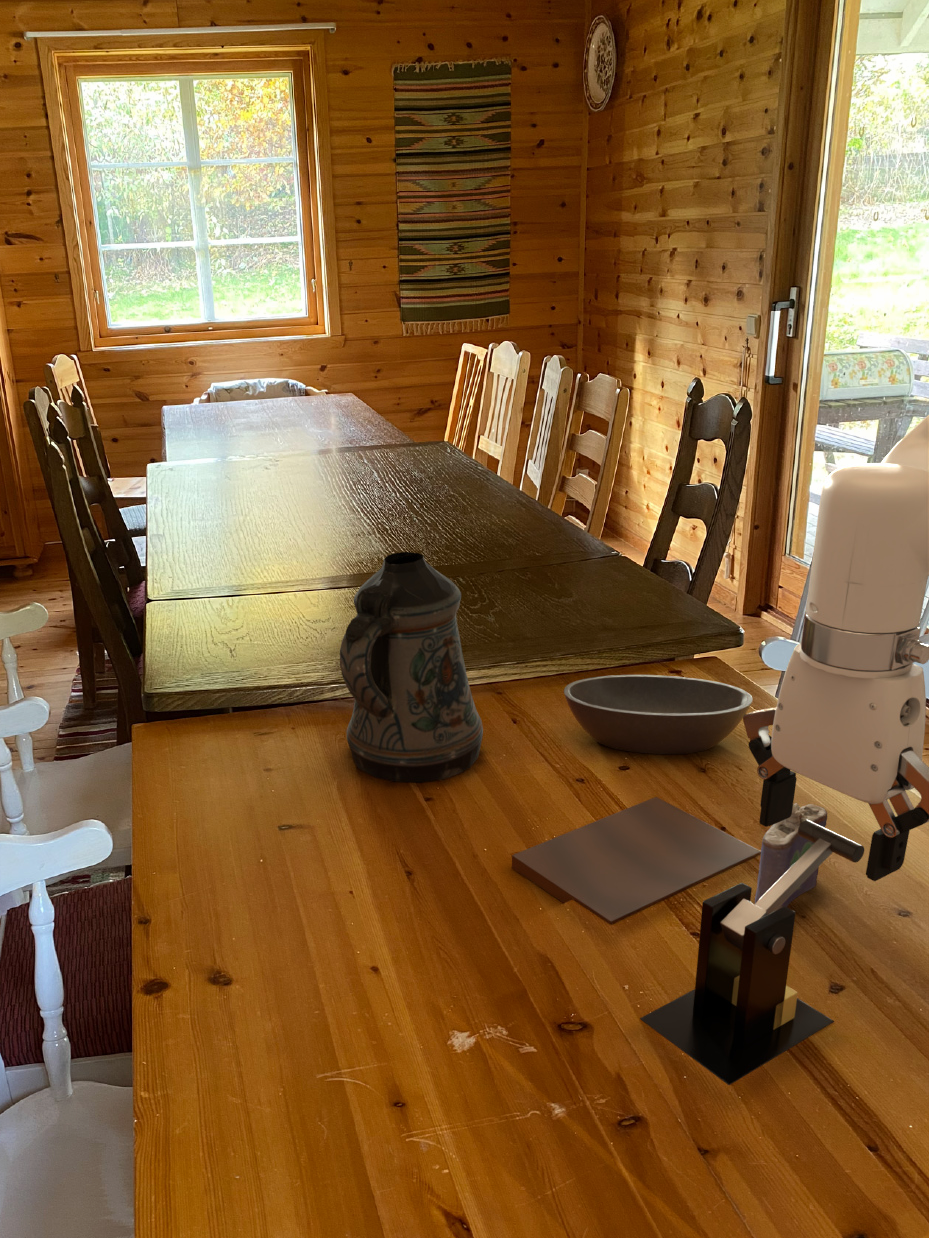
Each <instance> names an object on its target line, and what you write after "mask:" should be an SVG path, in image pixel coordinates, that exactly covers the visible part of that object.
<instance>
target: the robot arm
mask: <svg viewBox="0 0 929 1238" xmlns="http://www.w3.org/2000/svg"><path fill="white" fill-rule="evenodd" d="M813 544H814V545H813V550H812V551H813V552H812V561H811V565H810V566H811V568H810V574H809V581H808V590H807V597H806V598H807V599H806V605H805V612H804V619H803V627H802V633H801V642H800V643H799V644H797V645H796V646H795V647H794V648H793V651H792V654H791V655H790V658H789V661H788V663H787V666H786V669H785V672H784V675H783V679H782V681H781V684H780V689H779V693H778V698H777V703H776V707H775V706H774V707H769V708H764V709H757V710H753V711H751V712H747V713H746V714H745V715H744V716H743V719H742V722H743V724H744V728H745V732H746V735H747V738H748V739H749V742H748V748H749V751H750V753H751V754H752V756H753V758H754V759H755V762H756V763H757V765H758V766H757V768H756V772H757V776H758V777H759V778H761V779H762V789H761V790H762V791H761V796H760V803H759V804H760V806H759V807H760V814H759V825H762V826H763V827H765V828H767V827H771V826H772V825H774V824H776V823H778V822H780V821H783V820H785V819H787V818H789V817H790V816H791V815H792V809H793V804H794V802H795V794H796V793H795V792H796V787H797V786H796V785H797V774H799V775H800V776H803V777H805V778H808V779H809V780H812V781H814V782H816V783H818V784H820V785H822V786H825V787H827V788H830V789H832V790H834V791H837V792H839V793H841V794H843V795H846V796H848V797H851V798H853V799H855V800H857V801H860V802H862V803H866V804H868V805H869V808H870V810H871V812H872V814H873V816H874V818H875V820H876V822H877V824H878V826H879V828H880V829H877V830H875V831H873V832H872V835H871V840H870V847H869V851H868V852H869V853H868V858H867V863H866V870H865V875H866V878H867V879H868V880H870V881H873V882H877V881H879V880H880V879H883V878H884V877H886V876H889V875H890V874H892V873H894V872H897V871H898V870H900V869H901V868H902V866H903V864H904V862H905V857H906V851H907V846H908V841H909V835H910V831H911V830H914V829H916V828H919V827H921V826H922V825H925V824H927V823H929V766H928V765H927V764H926V763H925V762H924V761H923V753H924V746H925V745H924V744H925V733H926V716H927V715H926V714H927V695H926V694H927V693H926V682H925V673H924V668H923V667H922V666H920V665H925V664H927V663H928V661H929V644H925V643H923V642H922V641H921V640H920V635H921V630H922V628H921V627H920V623H921V617H922V613H923V607H924V603H925V602H924V601H925V597H926V596H925V595H926V591H927V584H928V578H929V414H928V415H927V416H925V417H924V418H923V419H922V420H921V421H920V422H919V423H918V424H917V425H915V426H914V427H913V428H912V429H911V430H910V431H908V433H907V434H905V435H904V436H903V437H902V438H901V439H900V440H899V441H898V442H897V443H896V444H895V445H894V446H893V447H892V448H891V450H890V451H889V452H888V454H887V455H886V456H884V458H883V459H882V460H881V462H878V463H877V462H873V463H872V462H871V463H870V462H869V463H856V464H849V465H845V466H842V467H839V468H837V469H835V470H833V471H832V472H831V473H830V474H829V475H828V476H827V477H826V479H825V481H824V482H823V485H822V488H821V493H820V498H819V505H818V514H817V521H816V528H815V536H814V543H813ZM915 663H917V664H915ZM918 664H920V665H918ZM769 726H772V729H771V735H770V729H769ZM913 789H915V790H916V791H917V792H918V794H920V801H919V802H918V803H917V805H916V806H915V807H914V805H913V803H912V801H911V799H910V797H909V795H908V793H907V791H911V790H913ZM888 800H889V801H888ZM889 802H890V803H889ZM890 804H891V805H890ZM891 806H892V807H891ZM892 808H893V809H892ZM893 810H894V811H895V813H894V811H893Z"/></svg>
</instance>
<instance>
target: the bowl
mask: <svg viewBox="0 0 929 1238" xmlns="http://www.w3.org/2000/svg"><path fill="white" fill-rule="evenodd" d="M563 694H564V697H565V700H566V702H567V705H568V708H569V709H570V711H571V713H572V715H573V716H574V718H575V721H577V722H578V723H579V726H581V728H582V729H583V730H584V731H585V732H586V733H587V734H588V735H589V736H590V737H591V738H592V739H593V740H594V741H596V742H597V743H598V744H600V745H602V746H605V747H608V748H611V749H616V750H619V751H626V752H631V753H640V754H651V755H652V754H653V755H683V754H685V755H686V754H695V753H700V752H704V751H708V750H710V749H711V748H713V747H715V746H716V745H717V744H719V743H721V742H722V741H723V740H725V739H726V738H727V737H728V736H729V735H730V734H731V733H732V732H733V731H734V730H735V729H736V728H737V727H738V725H739V724H740V723H741V722H742V721H743V716H744V715H745V714H748V711H749V709H750V707H751V705H752V703H753V697H752V695H751V694H750V693H749V692H747V691H746V690H744V689H742V688H740V687H738V686H735V685H732V684H731V685H730V684H728V683H723V682H719V681H714V680H708V679H704V678H703V679H702V678H695V677H685V676H684V677H683V676H676V675H675V676H674V675H673V676H672V675H659V674H657V675H656V674H620V675H602V676H594V677H593V676H592V677H588V678H583V679H579V680H576V681H572V682H571V683H569V684H567V685H566V686H565V687H564V689H563Z"/></svg>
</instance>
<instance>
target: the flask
mask: <svg viewBox="0 0 929 1238" xmlns="http://www.w3.org/2000/svg"><path fill="white" fill-rule="evenodd" d="M804 820H809V821H812V822H814V823H816V824H818V825H820V826H822V827H824V828H826V827H827V822H828V821H827V820H828V811H827V810H826V809H825V807H822V806H819V805H816V804H812V803H810V804H809V803H808V804H806V805H803V806H800V805H799V804H798V802H795V803H793V809H792V815H791V816H790V817H789V818H787V819H785V820H783V821H780V822H778V823H776V824H774V825H771V826H770V827H769V828H768V830H767V831H766V832H765V833H764V835H763V836H762V840H761V847H760V848H761V849H760V851H761V855H760V859H759V866H758V874H757V882H756V883H757V884H756V889H755V895H754V896H755V897H754V904H755V903H756V902H757V901H758V900H759V899H760V898H761V897H762V896H763V895H764V894H765V893H766V892H767V891H768V890H769V889H770V888H771V887H772V886H773V885H774V884H775V883H776V882H777V881H778V880H779V879H780V878H781V877H782V876H783V875H784V874H785V873H786V872H787V871H788V870H789V869H790V867H791V866H792V865H793V864H794V863H795V862H796V861H797V860H798V859H799V858H800V857H801V856H802V855H803V854H804V853H805V852H806V851H807V850H808V849H809V848H810V847H811V846H812V845H813V844H814V843H813V842H811V841H809V840H807V839H805V838H803V837H801V836H799V834H798V828H799V826H800V824H801V823H802V822H803V821H804ZM819 867H820V866H819ZM819 867H818V868H817V869H816V870H815V871H814V872H813V873H812V874H811V875H810V876H809V877H808V878H807V879H806V880H805V881H804V882H803V883H802V884H801V885H800V886H799V887H798V888H797V889H796V891H795V892H794V893H793V894H792V895H791V896H790V897H789V898H788V899H787V900H786V901H785V902H784V903H783V904H782V905H781V906H780V907H779V908H778V909H780V908H782V907H784V906H786V907H787V908H788V906H789V905H790V903H792V902H793V901H794V900H795V899H796V898H798V897H800V896H801V895H802V894H804V893H806V892H809V891H810V890H812V889H814V888H816V886H817V880H818V875H819ZM778 909H777V910H778Z"/></svg>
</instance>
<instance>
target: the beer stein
mask: <svg viewBox="0 0 929 1238" xmlns="http://www.w3.org/2000/svg"><path fill="white" fill-rule="evenodd" d="M425 559H426V558H425V557H424V555H423V554H422V553H419V552H411V551H400V552H394V553H391V554H388V555H386V557H384V559H383V562H382V565H381V567H380V569H378V570H377V571H376V572H375V573H374V574H373V575H371V576H370V577H369V578H368V579H367V580H366V581H365V582H364V583H363V584H362V585H361V586H360V587H359V588H358V590H357V591H356V593H355V595H354V597H353V605H354V607H355V612H356V615H355V617H353V618H352V619H351V621H350V622H349V623H348V625H347V627H346V629H345V633H344V635H343V638H342V640H341V643H340V648H339V667H340V672H341V676H342V679H343V682H344V684H345V686H346V688H347V690H348V692H349V693H350V695H351V696H352V698H353V699H354V702H353V703H354V704H353V710H352V714H351V718H350V720H349V722H348V725H347V728H346V740H347V744H348V747H349V749H350V752H351V758H352V760H353V762H354V763H355V766H356V767H357V769H358V770H360V771H362V772H364V773H367V774H368V775H371V776H372V777H374V778H376V779H381V780H385V781H390V782H394V783H415V784H416V783H418V784H421V783H428V782H435V781H440V780H441V781H442V780H446V779H449V778H451V777H454V776H458V775H460V774H462V773H464V772H465V771H467V770H468V769H470V768H471V767H472V766H473V765H474V763H476V761H477V760H478V759H479V755H480V750H481V746H482V741H483V736H484V735H483V734H484V727H483V721H482V718H481V716H480V714H479V712H478V710H477V708H476V704H475V702H474V699H473V698H474V697H473V694H472V691H471V687H470V683H469V678H468V675H467V668H466V664H465V660H464V654H463V648H462V643H461V637H460V632H459V627H458V620H457V613H458V611H459V608H460V603H461V599H462V592H461V591H460V588H459V587H458V586H457V585H456V584H455V583H454V581H452V580H451V579H450V578H449V577H448V576H447V577H446V575H444V574H442V573H441V572H439V571H438V570H436V569H435V568H434V567H433V566H431V565H430V564H429V563H427V561H426V560H425Z"/></svg>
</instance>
